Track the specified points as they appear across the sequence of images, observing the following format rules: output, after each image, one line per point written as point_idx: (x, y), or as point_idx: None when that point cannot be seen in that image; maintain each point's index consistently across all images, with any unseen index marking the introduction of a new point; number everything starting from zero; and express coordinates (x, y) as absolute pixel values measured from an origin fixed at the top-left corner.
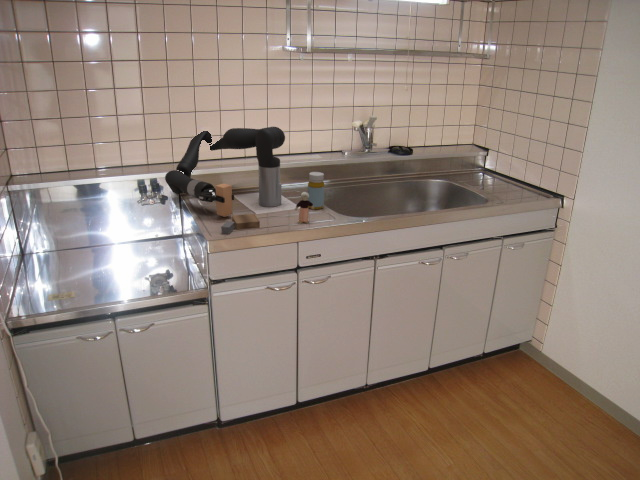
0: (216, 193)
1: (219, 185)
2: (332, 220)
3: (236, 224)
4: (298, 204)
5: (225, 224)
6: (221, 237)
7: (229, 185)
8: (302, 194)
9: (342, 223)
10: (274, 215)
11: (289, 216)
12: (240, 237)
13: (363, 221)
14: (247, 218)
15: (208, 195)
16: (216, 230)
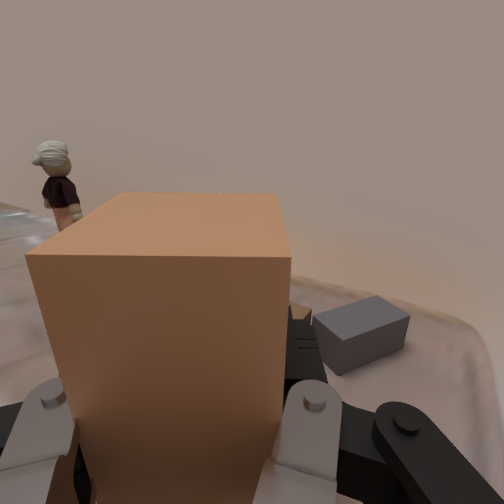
0: (281, 389)
1: (227, 235)
2: (30, 236)
3: (310, 314)
4: (76, 194)
5: (375, 320)
6: (420, 325)
7: (134, 197)
8: (66, 148)
9: (51, 224)
10: (15, 339)
11: (16, 300)
12: (344, 292)
13: (19, 214)
14: None
15: (445, 485)
16: (414, 389)
